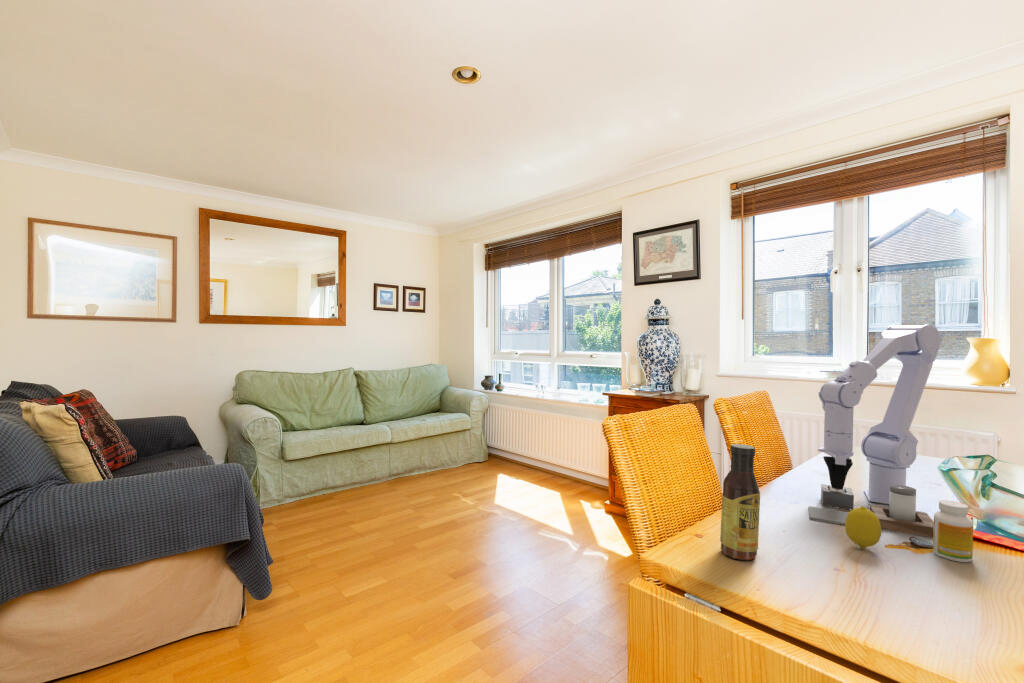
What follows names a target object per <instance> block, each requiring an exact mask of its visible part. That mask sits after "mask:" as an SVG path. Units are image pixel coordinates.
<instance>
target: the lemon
mask: <svg viewBox="0 0 1024 683" xmlns="http://www.w3.org/2000/svg"><path fill="white" fill-rule="evenodd" d="M844 527H845V533H846V535H847V536H848V538H849V540H850V541H852V542H853V543H854V544H856V545H857V546H858V547H859V548H860V549H862V550H866V549H867V548H869V547H873V546H875V545H877V544H878V543H879V541H880V540H881V537H882V529H881V525H880V522H879V519H878V517H877V516H876V515H875V514H874V513H873V512H872V511H870V509H868V508H867V507H866V506H863V505H862V506H860V507H856V508H854V509H853V510H849V511H848V515H847V517H846V521H845V525H844Z"/></svg>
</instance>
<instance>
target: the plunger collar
mask: <svg viewBox="0 0 1024 683" xmlns="http://www.w3.org/2000/svg"><path fill="white" fill-rule="evenodd" d="M820 485H821V487H820V488H821V490H820V491H821V492H820V493H821V494H820V500H821V499H822V500H821V504H823V505H825V506H824V507H829V506H832V507H831V508H835V507H839V508H838V509H842V508H845V509H844V510H848V509H851V510H853V509H855V508H854V505H855V504H854V498H855V497H854V496H855V494H854V492H853V490H852V488H851V487H843V488H844V489H845V493H844V492H837V491H830V486H831V484H820ZM823 505H822V506H823ZM851 510H850V511H851Z"/></svg>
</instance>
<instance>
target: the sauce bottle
mask: <svg viewBox="0 0 1024 683" xmlns="http://www.w3.org/2000/svg"><path fill="white" fill-rule="evenodd" d="M730 454H731V459H730V462H731V464H730V470H729V472H728V473H727V474H726V476H725V477H724V479H723V483H722V484H723V485H722V486H723V487H722V495H721V516H720V518H721V520H720V539H719V540H720V550H721V552H722V553H723V554H724V555H725V556H726V557H729V558H730V559H731V558H732V559H734V560H741V561H753V560H754V559H756V557H757V555H758V549H759V535H760V534H759V530H760V529H759V528H760V526H759V525H760V507H761V506H760V505H761V504H760V503H761V492H760V489H759V485H758V481H757V478H756V475H755V472H754V471H755V468H754V458H755V455H756V448H755V447H754V446H753V445H749V444H739V443H733V444H731V445H730Z"/></svg>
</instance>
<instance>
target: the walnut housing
mask: <svg viewBox="0 0 1024 683" xmlns="http://www.w3.org/2000/svg"><path fill="white" fill-rule="evenodd" d="M869 510H870V511H872V512H873V513H874V514H875V515H876V516H877V517H878V519H879V522H880V525H881V530H887V531H893V532H899V533H903V534H904V533H905V534H912V535H915V536H916V535H917V536H923V537H929V538H933V525H934V519H932V518H931V516H929V514H928V513H927V512H923V511H917V510H916V517H915V522H914V521H907V520H901V519H895V518H889V506H886V505H885V506H884V505H879V504H878V505H877V504H871V503H869Z"/></svg>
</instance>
